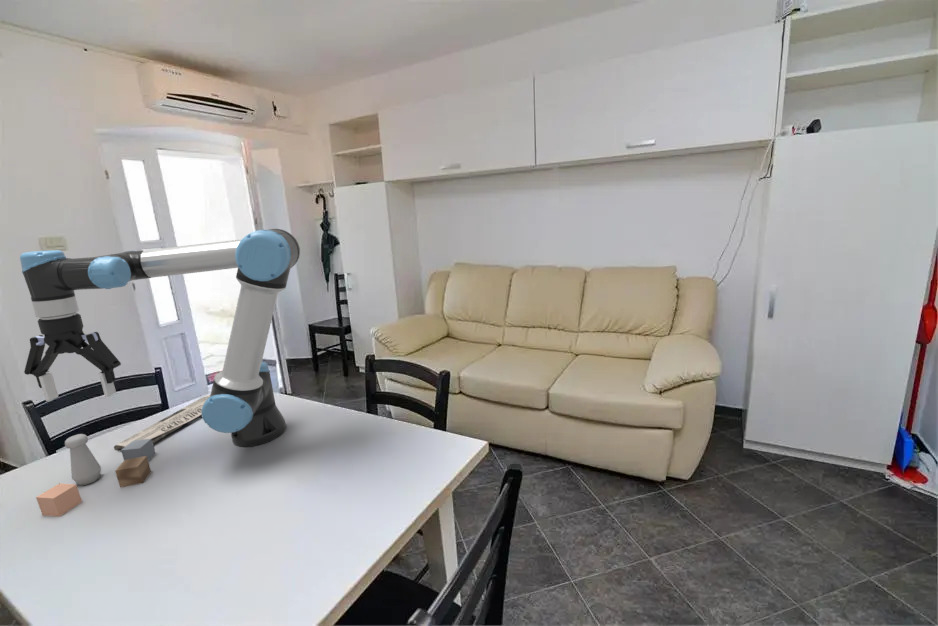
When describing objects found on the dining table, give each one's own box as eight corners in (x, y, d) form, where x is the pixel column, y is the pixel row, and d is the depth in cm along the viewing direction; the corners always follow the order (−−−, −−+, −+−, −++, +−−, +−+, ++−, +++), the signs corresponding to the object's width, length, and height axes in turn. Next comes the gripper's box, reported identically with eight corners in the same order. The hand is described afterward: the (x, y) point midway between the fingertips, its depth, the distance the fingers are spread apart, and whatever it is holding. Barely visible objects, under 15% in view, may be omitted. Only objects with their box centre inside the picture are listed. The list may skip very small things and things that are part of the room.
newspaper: (205, 399, 157) (203, 391, 156) (233, 401, 154) (231, 392, 154) (110, 453, 124) (106, 443, 123) (143, 456, 121) (140, 446, 120)
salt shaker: (86, 488, 107) (70, 443, 104) (68, 486, 108) (53, 442, 105) (109, 474, 113) (95, 431, 109) (92, 472, 114) (78, 430, 111)
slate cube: (155, 453, 122) (151, 438, 120) (144, 463, 117) (140, 448, 115) (137, 455, 121) (133, 440, 120) (125, 466, 116) (120, 450, 115)
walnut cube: (151, 472, 113) (146, 455, 111) (142, 483, 108) (137, 466, 107) (129, 476, 111) (124, 459, 110) (120, 487, 107) (115, 470, 105)
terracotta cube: (82, 502, 102) (76, 484, 101) (59, 516, 97) (53, 498, 96) (65, 500, 103) (59, 483, 102) (42, 515, 98) (35, 497, 97)
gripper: (125, 309, 104) (144, 387, 110) (16, 314, 102) (41, 394, 107) (103, 316, 97) (124, 399, 102) (-15, 322, 95) (13, 407, 100)
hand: (81, 397), depth 105 cm, fingers open, 13 cm apart
